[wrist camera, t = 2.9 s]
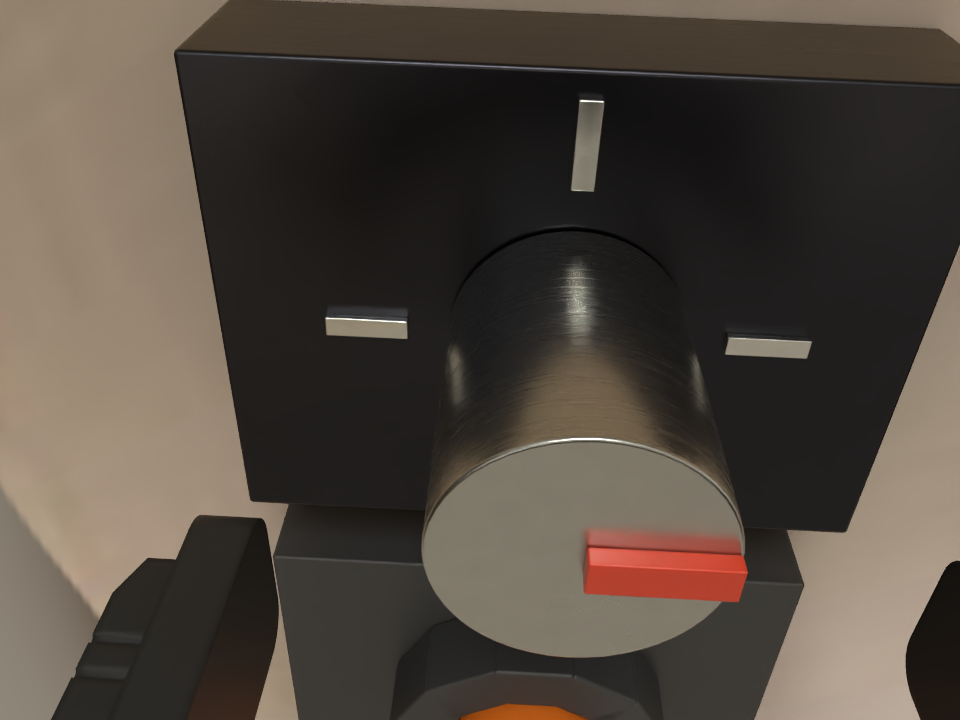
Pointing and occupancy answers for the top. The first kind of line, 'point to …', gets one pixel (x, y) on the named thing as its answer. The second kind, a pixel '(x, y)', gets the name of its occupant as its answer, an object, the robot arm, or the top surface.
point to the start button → (522, 713)
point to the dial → (577, 456)
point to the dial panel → (568, 221)
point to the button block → (484, 662)
